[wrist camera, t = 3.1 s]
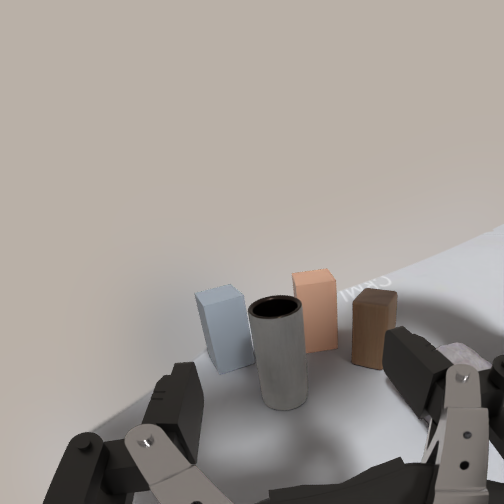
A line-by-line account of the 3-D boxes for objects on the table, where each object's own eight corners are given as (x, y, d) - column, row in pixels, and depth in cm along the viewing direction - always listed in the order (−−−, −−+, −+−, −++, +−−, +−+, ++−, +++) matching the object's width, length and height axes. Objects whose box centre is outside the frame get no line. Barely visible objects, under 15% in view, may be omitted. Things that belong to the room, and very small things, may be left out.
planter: (264, 414, 23) (248, 321, 21) (261, 385, 28) (247, 299, 25) (311, 406, 23) (307, 312, 21) (303, 378, 28) (297, 291, 25)
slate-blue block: (241, 346, 36) (230, 283, 34) (255, 362, 32) (243, 294, 30) (209, 356, 35) (194, 293, 33) (219, 374, 31) (203, 305, 29)
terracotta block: (330, 330, 37) (327, 268, 34) (337, 348, 32) (335, 280, 30) (297, 335, 37) (291, 273, 35) (301, 354, 32) (295, 285, 30)
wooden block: (363, 346, 31) (364, 286, 29) (393, 352, 29) (398, 290, 27) (349, 364, 28) (350, 300, 27) (382, 372, 26) (388, 306, 24)
